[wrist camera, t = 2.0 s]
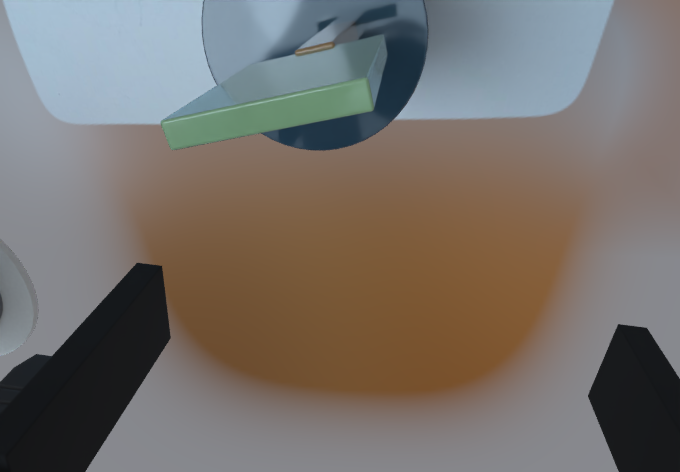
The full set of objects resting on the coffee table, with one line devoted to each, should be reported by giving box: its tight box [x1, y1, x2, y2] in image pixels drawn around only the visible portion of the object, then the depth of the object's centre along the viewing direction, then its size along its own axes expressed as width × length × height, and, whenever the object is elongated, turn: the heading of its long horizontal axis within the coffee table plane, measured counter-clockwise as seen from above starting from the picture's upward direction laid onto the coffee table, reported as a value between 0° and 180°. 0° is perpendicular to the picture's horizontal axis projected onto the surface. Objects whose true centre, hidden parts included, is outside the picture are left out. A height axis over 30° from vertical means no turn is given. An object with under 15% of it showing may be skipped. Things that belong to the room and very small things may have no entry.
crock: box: [161, 0, 428, 150], centre depth 24 cm, size 9×9×34 cm
